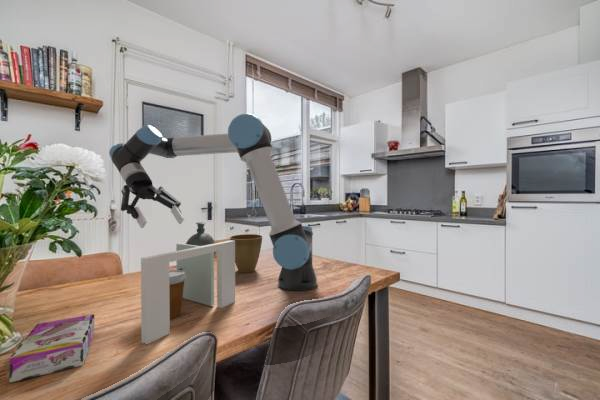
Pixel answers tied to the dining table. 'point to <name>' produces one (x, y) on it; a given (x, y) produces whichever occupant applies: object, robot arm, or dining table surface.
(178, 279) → the disposable coffee cup
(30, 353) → the candy bar box
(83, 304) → the dining table surface
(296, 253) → the robot arm
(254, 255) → the plant pot
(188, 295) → the door
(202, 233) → the flask
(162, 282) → the door frame
